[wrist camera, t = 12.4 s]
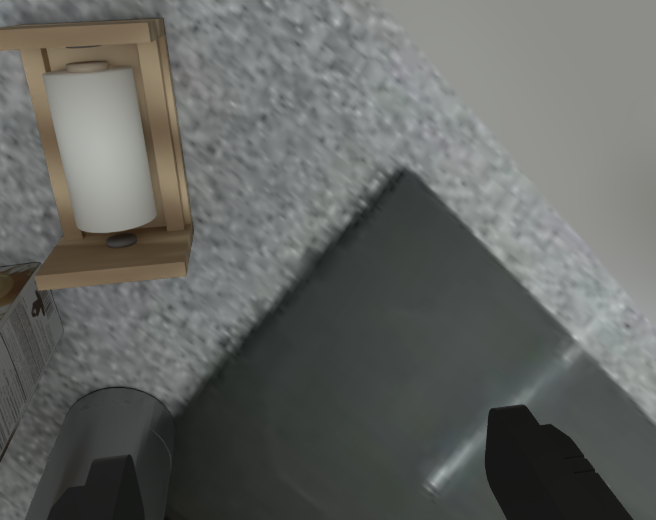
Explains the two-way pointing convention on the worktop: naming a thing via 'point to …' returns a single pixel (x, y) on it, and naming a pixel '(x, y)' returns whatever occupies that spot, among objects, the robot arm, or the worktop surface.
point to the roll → (101, 145)
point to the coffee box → (23, 342)
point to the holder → (160, 140)
